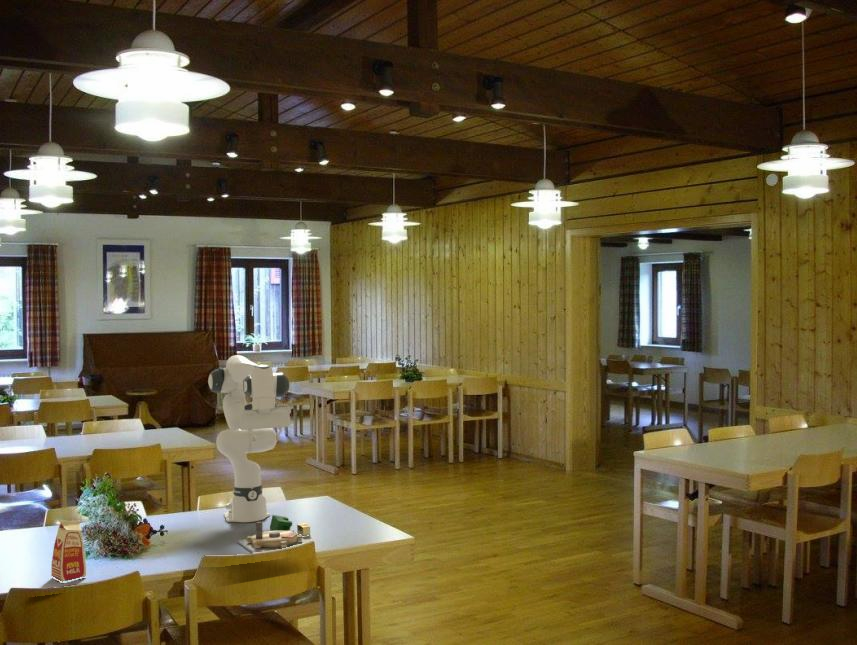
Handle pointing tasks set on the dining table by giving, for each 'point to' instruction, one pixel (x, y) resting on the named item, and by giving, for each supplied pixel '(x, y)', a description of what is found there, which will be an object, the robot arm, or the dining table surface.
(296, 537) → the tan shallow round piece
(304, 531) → the beige small block
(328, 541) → the dining table surface
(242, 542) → the base plate
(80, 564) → the milk carton
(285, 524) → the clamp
